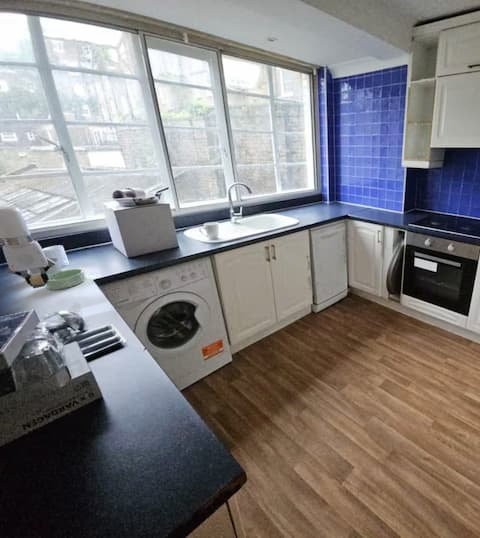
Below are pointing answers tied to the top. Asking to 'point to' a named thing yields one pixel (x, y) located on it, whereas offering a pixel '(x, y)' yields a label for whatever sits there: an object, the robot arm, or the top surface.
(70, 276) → the bowl
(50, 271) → the teacup
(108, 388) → the top surface
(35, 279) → the eraser
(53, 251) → the white cup
